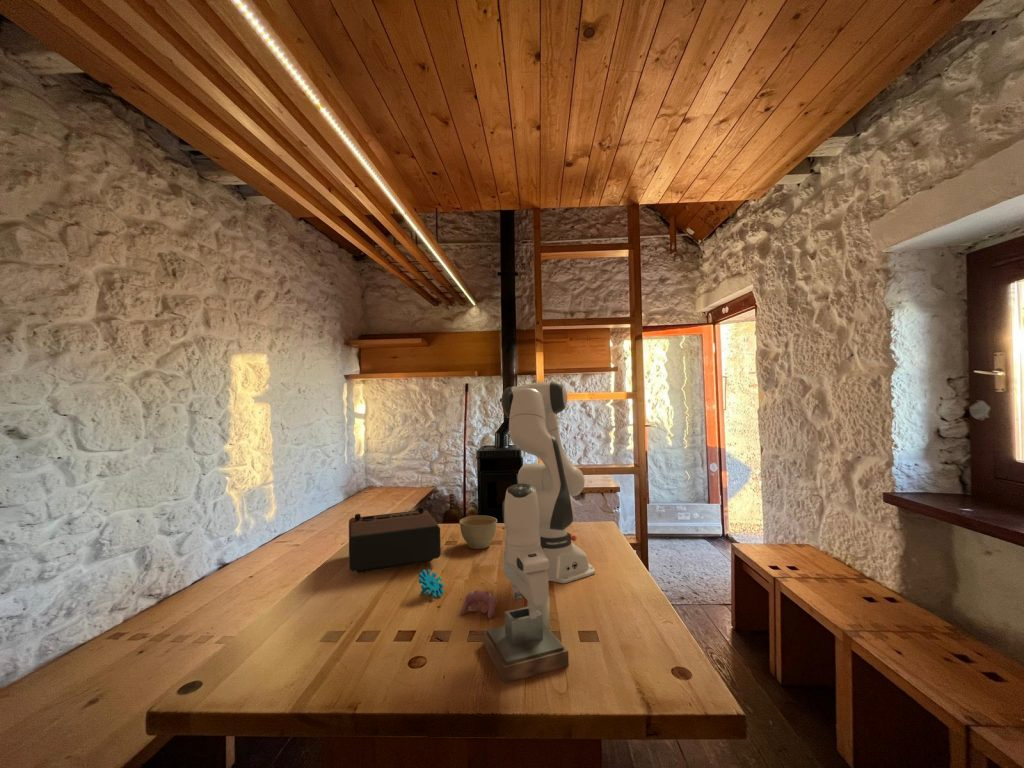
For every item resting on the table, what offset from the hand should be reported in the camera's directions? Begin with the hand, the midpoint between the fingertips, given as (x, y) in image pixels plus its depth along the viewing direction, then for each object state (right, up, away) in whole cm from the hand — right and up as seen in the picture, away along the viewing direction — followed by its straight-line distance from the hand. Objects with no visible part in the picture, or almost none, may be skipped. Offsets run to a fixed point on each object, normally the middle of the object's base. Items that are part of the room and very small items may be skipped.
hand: (524, 608), depth 105 cm
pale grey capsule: (+4, -12, +13) cm, 18 cm away
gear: (-29, -13, +33) cm, 46 cm away
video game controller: (-13, -13, +20) cm, 27 cm away
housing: (0, -7, 0) cm, 7 cm away
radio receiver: (-49, -15, +63) cm, 81 cm away
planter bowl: (-17, -15, +78) cm, 81 cm away
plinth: (0, -11, -1) cm, 11 cm away
